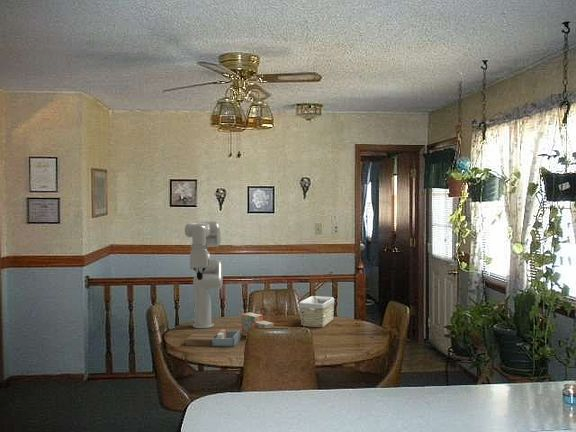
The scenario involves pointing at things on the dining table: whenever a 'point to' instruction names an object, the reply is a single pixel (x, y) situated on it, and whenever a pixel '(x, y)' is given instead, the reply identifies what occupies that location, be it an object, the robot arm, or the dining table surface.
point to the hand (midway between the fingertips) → (199, 279)
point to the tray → (228, 339)
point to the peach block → (223, 332)
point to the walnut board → (200, 339)
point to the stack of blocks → (253, 322)
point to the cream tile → (220, 335)
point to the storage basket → (316, 311)
